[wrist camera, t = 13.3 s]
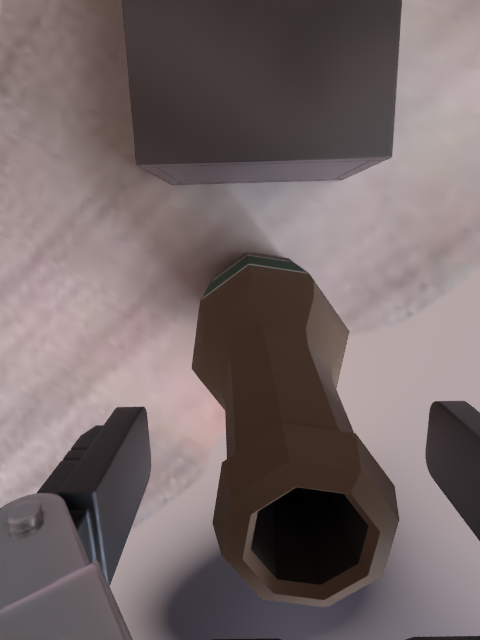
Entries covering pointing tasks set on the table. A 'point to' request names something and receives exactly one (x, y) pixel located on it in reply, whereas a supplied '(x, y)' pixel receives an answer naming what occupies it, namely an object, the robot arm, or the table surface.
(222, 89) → the cabinet
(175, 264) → the table surface
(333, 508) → the beer bottle
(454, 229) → the table surface
